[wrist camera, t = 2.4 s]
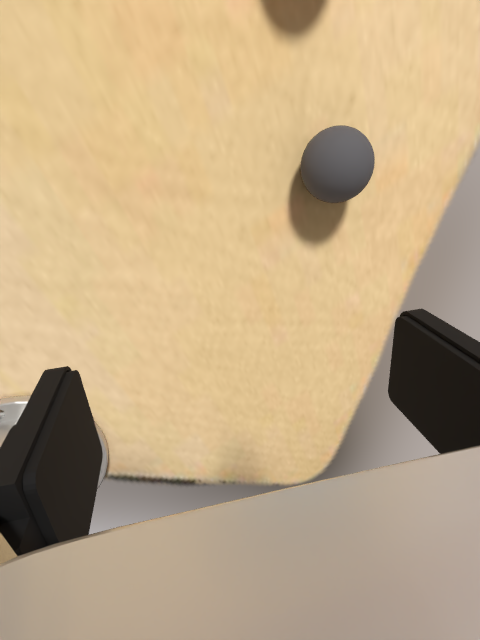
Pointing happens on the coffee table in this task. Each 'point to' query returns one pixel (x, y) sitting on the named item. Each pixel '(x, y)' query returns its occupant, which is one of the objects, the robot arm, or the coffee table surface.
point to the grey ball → (337, 164)
